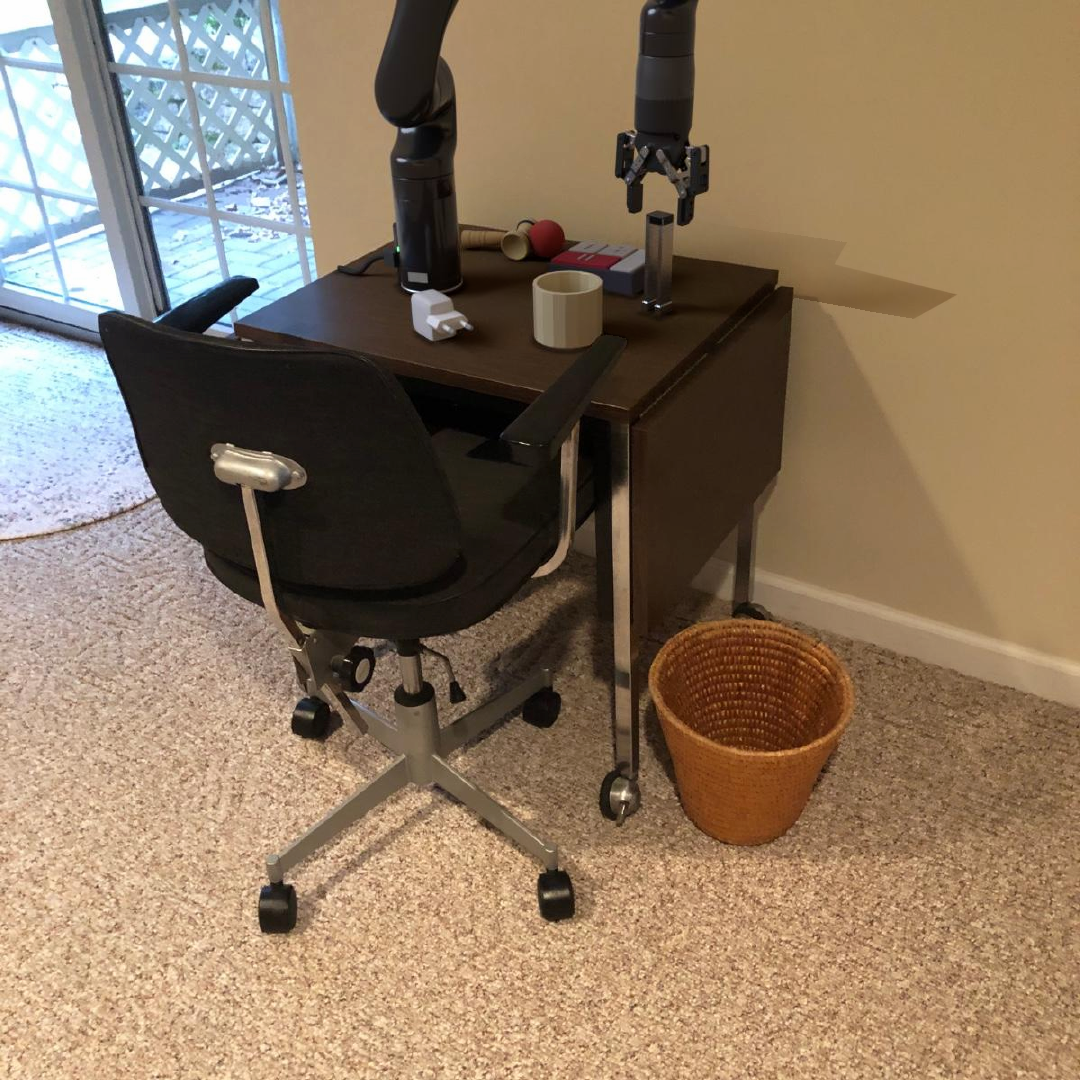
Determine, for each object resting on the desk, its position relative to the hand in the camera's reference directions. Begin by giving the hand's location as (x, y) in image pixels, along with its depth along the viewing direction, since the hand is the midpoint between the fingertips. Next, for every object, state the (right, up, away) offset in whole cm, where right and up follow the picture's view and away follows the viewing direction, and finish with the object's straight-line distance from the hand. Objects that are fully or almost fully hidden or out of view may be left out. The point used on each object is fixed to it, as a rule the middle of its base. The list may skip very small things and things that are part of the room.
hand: (658, 218), depth 146 cm
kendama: (-21, +3, +32) cm, 38 cm away
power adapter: (-29, -17, +1) cm, 34 cm away
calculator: (-6, -4, +20) cm, 21 cm away
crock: (-12, -16, +1) cm, 20 cm away
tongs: (+1, -11, +7) cm, 14 cm away
